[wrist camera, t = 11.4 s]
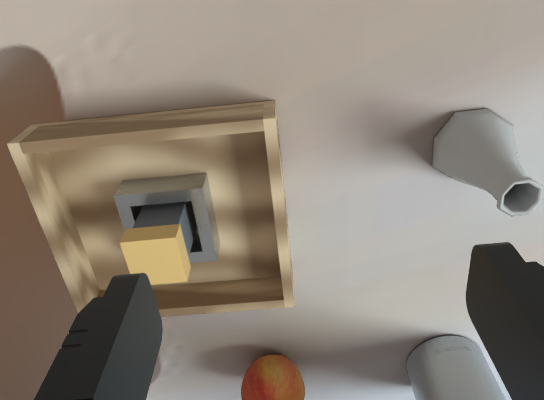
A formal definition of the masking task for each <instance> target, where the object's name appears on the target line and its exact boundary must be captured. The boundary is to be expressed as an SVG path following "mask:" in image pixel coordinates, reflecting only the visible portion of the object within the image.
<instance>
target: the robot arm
mask: <svg viewBox="0 0 544 400" xmlns="http://www.w3.org/2000/svg"><path fill="white" fill-rule="evenodd" d="M466 304H467V309H468V313H469V316H470V318H471V321H472V323H473V325H474V326H475V328H476V330H477V332H478V334H479V336H480V338H481V340H482V342H483V344H484V346H485V348H486V350H487V352H488V354H489V356H490V358H491V360H492V362H493V363H494V365H495V367H496V369H497V371H498V373H499V375H500V377H501V379H502V381H503V383H504V385H505V387H506V389H507V391H508V393H509V395H510V397H511V399H512V400H544V267H543V266H542V265H540V264H539V263H537V262H525V261H524V260H523V258H522V257H521V256H520V254H519V253H518V252H517V250H516V249H515V248H514V246H513V245H512V244H510V243H508V242H504V243H493V244H481V245H475V246H474V247H473V249H472V253H471V261H470V268H469V275H468V282H467V290H466ZM161 341H162V320H161V316H160V312H159V309H158V306H157V303H156V300H155V297H154V293H153V290H152V287H151V284H150V281H149V278H148V276H147V274H145V273H136V274H124V275H115V276H113V277H112V279H111V281H110V283H109V285H108V287H107V289H106V292H105V294H104V296H103V297H96V298H93V299H92V300H91V301H90V302H89V303H88V304H87V305H86V306H85V307H84V308H83V309H82V310H81V311H80V312H79V313H78V314H77V316H76V318H75V320H74V322H73V324H72V326H71V328H70V330H69V334H68V335H67V336H66V338H65V340H64V342H63V344H62V349H60V350H59V352H58V354H57V356H56V357H55V360H54V362H53V364H52V365H51V367H50V369H49V371H48V373H47V375H46V377H45V379H44V381H43V383H42V385H41V387H40V389H39V391H38V393H37V395H36V397H35V399H34V400H146V397H147V393H148V389H149V386H150V382H151V378H152V374H153V371H154V367H155V364H156V360H157V356H158V352H159V349H160V345H161ZM406 368H407V372H408V375H409V379H410V382H411V385H412V388H413V392H414V395H415V399H416V400H506V399H505V397H504V395H503V393H502V391H501V389H500V387H499V385H498V383H497V381H496V379H495V377H494V375H493V373H492V371H491V369H490V367H489V365H488V363H487V361H486V359H485V357H484V355H483V353H482V351H481V349H480V348H479V346H478V345H477V344H476V343H475V342H473V341H472V340H470V339H467V338H465V337H460V336H442V337H437V338H434V339H430V340H428V341H426V342H424V343H422V344H421V345H419V346H418V347H417V348H416V349H415V350H414V351H412V353H411V354H410V356H409V357H408V360H407V365H406Z"/></svg>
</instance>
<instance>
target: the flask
mask: <svg viewBox="0 0 544 400" xmlns="http://www.w3.org/2000/svg"><path fill="white" fill-rule="evenodd" d="M432 167H434V168H436V169H437V170H439V171H441V172H443V173H444V174H446V175H448V176H449V177H451V178H453V179H455V180H457V181H459V182H462V183H466V184H469V185H472V186H475V187H478V188H481V189H483V190H486V191H487V192H489V193H490V194H492V196H493V197H494V198H495V199H496V200H497V208H498V209H499V210H501V211H503V212H504V213H506V214H508V215H510V216H521V215H529V214H530V213H531V212H532V211H533V210H534V209H535V208H536V207H537V206H538V205H539V204H540V203H541V200H542V195H543V191H544V187H543V186H542V185H541V184H539V183H538V182H536V181H534V180H533V179H531V178H529V177H527V176H526V174H525V172H524V171H523V169H522V167H521V165H520V162H519V158H518V153H517V149H516V143H515V136H514V129H513V125H512V123H510V122H509V121H507V120H505V119H504V118H502V117H501V116H499V115H498V114H496V113H495V112H493V111H492V110H490V109H480V110H471V111H462V112H455V113H454V115H453V116H452V117H451V118H450V119H449V121H448V122H447V123H446V124H445V126H444V127H443V128H442V129H441V131H440V132H439V133H438V134H437V136H436V137H435V138H434V149H433V165H432Z"/></svg>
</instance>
